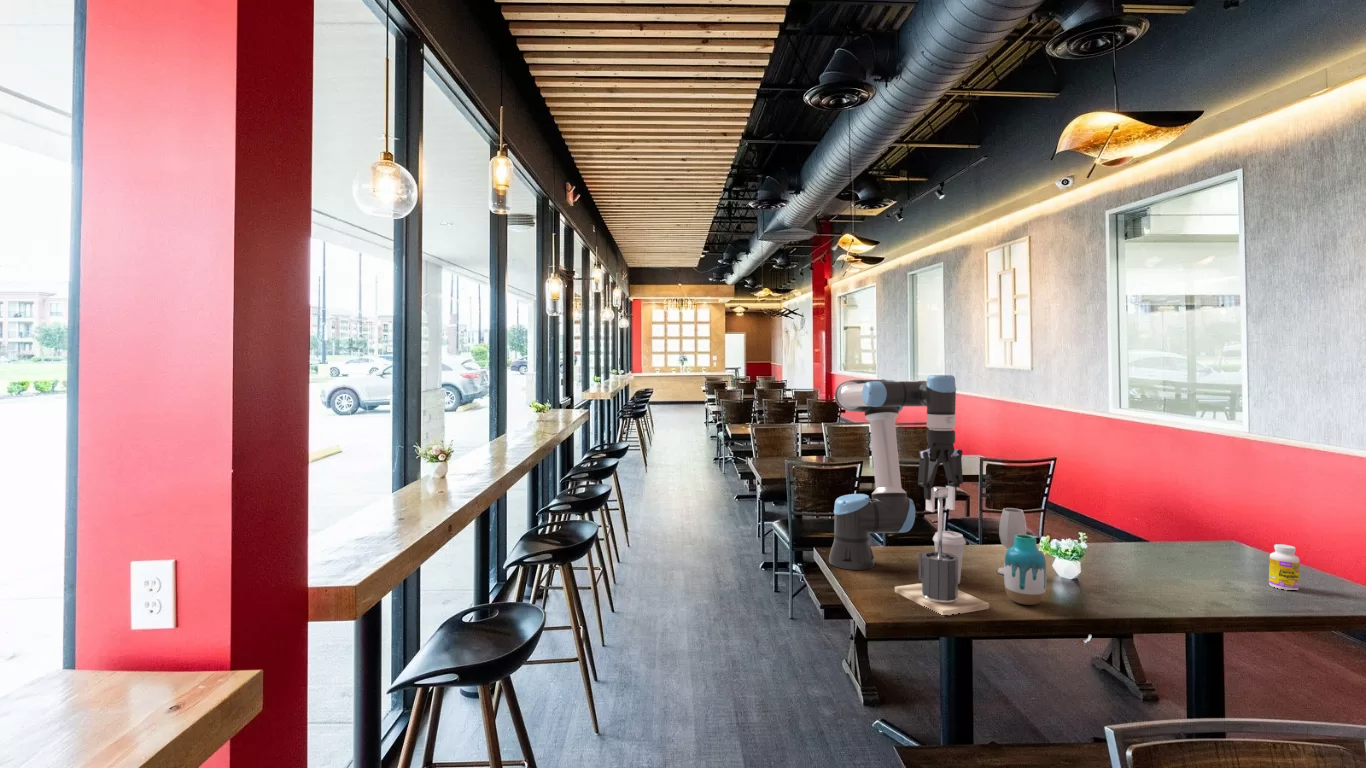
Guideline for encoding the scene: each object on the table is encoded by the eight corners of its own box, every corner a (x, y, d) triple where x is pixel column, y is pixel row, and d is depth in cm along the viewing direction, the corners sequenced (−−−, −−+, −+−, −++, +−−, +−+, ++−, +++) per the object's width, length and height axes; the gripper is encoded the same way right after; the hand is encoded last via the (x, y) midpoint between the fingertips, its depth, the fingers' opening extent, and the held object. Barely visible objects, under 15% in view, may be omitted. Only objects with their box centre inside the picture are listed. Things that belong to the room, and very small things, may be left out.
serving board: (894, 591, 189) (894, 586, 189) (937, 585, 194) (937, 580, 194) (942, 616, 170) (942, 610, 170) (989, 608, 175) (989, 603, 175)
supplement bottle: (1275, 590, 190) (1276, 547, 189) (1264, 583, 196) (1265, 542, 196) (1304, 592, 187) (1305, 550, 187) (1291, 585, 194) (1292, 544, 193)
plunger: (924, 558, 181) (924, 486, 180) (940, 556, 183) (941, 485, 182) (938, 564, 175) (939, 490, 175) (956, 562, 177) (956, 489, 177)
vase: (1028, 612, 172) (1029, 543, 172) (995, 599, 182) (996, 533, 182) (1054, 606, 177) (1055, 538, 176) (1021, 594, 186) (1021, 530, 186)
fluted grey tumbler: (908, 591, 185) (908, 550, 185) (933, 587, 188) (934, 547, 188) (938, 605, 173) (938, 562, 173) (964, 601, 176) (964, 559, 176)
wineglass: (1021, 580, 199) (1021, 514, 199) (992, 573, 206) (993, 509, 205) (1031, 574, 205) (1032, 510, 204) (1003, 567, 211) (1004, 505, 211)
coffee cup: (968, 587, 192) (969, 538, 192) (935, 585, 194) (935, 537, 194) (961, 577, 202) (961, 531, 201) (929, 575, 203) (930, 529, 203)
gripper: (922, 431, 172) (921, 515, 172) (978, 429, 178) (977, 510, 178) (903, 429, 179) (903, 509, 179) (958, 427, 185) (957, 504, 186)
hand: (940, 509), depth 179 cm, fingers open, 6 cm apart
